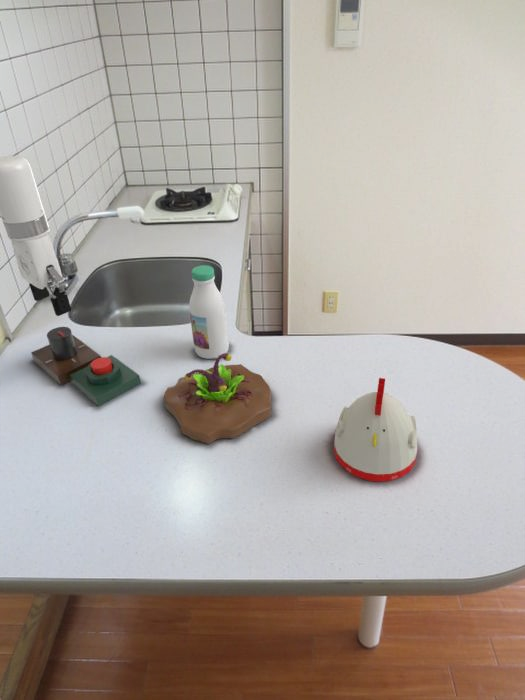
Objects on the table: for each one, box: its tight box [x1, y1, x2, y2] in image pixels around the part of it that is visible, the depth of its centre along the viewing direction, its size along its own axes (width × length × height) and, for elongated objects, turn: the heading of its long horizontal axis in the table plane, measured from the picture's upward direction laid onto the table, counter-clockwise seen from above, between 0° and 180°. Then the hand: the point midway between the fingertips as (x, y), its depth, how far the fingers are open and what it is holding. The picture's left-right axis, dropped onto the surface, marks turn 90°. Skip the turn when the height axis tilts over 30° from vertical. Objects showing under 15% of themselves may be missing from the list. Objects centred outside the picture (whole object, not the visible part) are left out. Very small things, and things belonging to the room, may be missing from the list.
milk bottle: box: [188, 264, 230, 360], centre depth 113 cm, size 8×8×20 cm
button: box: [91, 356, 113, 375], centre depth 107 cm, size 4×4×2 cm
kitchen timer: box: [333, 377, 419, 483], centre depth 86 cm, size 14×14×15 cm
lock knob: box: [46, 326, 77, 360], centre depth 114 cm, size 5×5×6 cm
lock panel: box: [30, 334, 102, 386], centre depth 116 cm, size 13×10×3 cm
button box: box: [70, 354, 142, 407], centre depth 109 cm, size 11×10×4 cm
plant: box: [163, 352, 272, 445], centre depth 99 cm, size 20×20×11 cm
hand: (52, 305), depth 109 cm, fingers open, 9 cm apart
